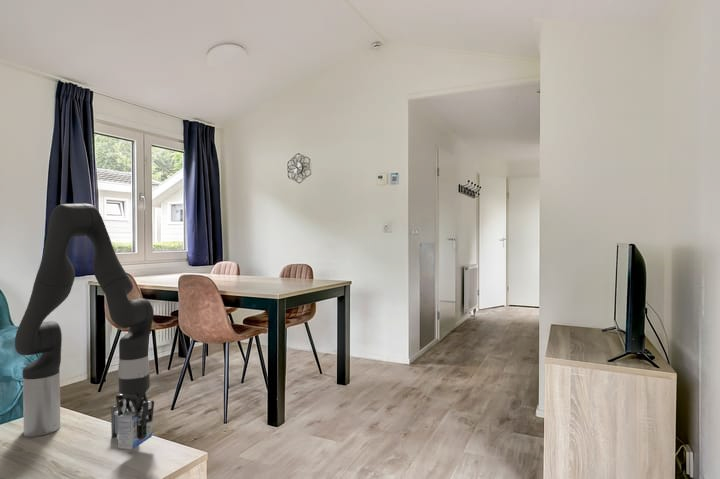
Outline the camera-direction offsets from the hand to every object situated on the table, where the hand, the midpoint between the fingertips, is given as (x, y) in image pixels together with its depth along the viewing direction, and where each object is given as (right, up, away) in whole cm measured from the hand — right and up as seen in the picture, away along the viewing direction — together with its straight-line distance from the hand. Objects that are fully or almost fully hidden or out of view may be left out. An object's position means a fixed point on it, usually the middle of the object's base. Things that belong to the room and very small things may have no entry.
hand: (135, 435), depth 120 cm
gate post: (-12, -5, +11) cm, 17 cm away
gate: (-7, -4, +8) cm, 11 cm away
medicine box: (0, -2, 0) cm, 2 cm away
